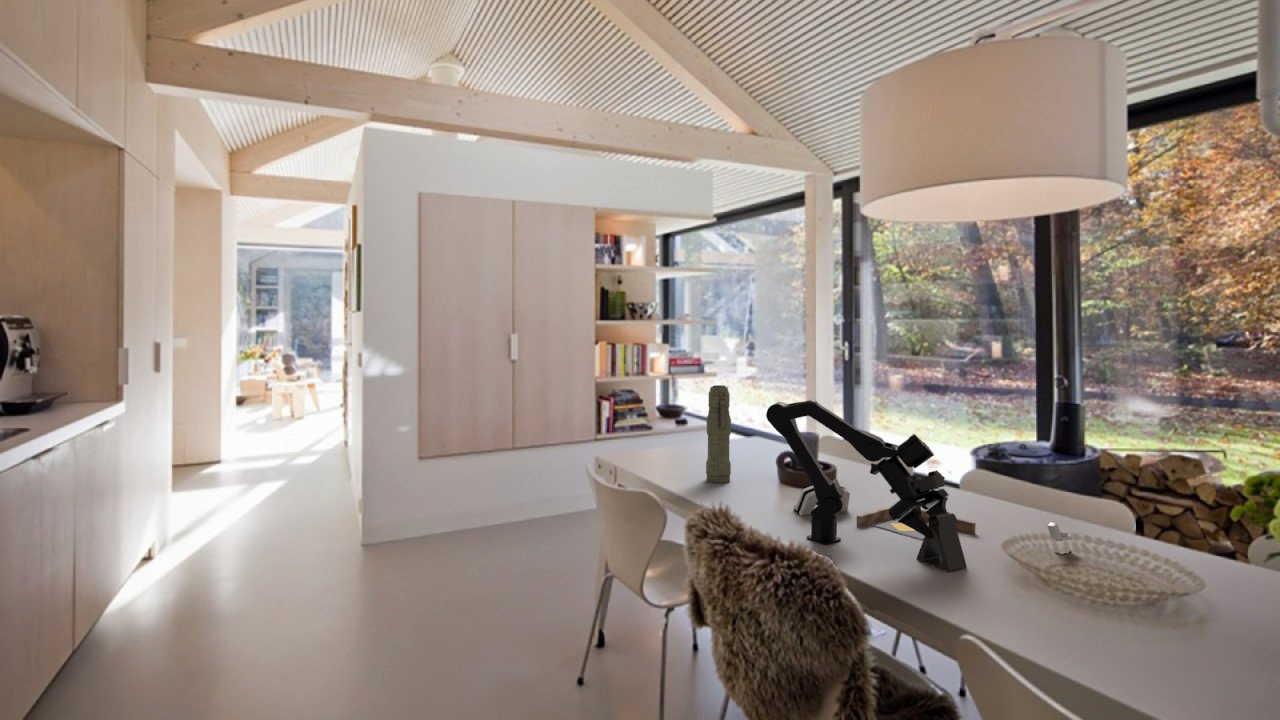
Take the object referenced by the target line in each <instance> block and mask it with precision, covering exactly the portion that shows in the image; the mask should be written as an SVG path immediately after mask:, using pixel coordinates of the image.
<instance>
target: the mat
mask: <svg viewBox="0 0 1280 720" xmlns="http://www.w3.org/2000/svg"><path fill="white" fill-rule="evenodd" d="M900 519H901V518H900ZM898 520H899V519H898ZM898 520H895V521H893V520H889V521H884V522H882V523H877V524H875V525H874V527H875V528H879V529H882V530H884V531H885V530H886V531H889V532H893V533H895V534H898V535H903V536H905V535H906V537H909V536H910V537H909V538H912V537H913V539H917V540H919V541H923V540H924V537H925V536H924V535H922V534H921V533H919V532H917V531H915V530H914V529H912V528H910V527H908V526H906V525H904V524H902V523H899V522H898ZM926 524H927V525H929V523H928V522H926Z"/></svg>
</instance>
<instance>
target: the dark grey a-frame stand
mask: <svg viewBox="0 0 1280 720" xmlns="http://www.w3.org/2000/svg"><path fill="white" fill-rule="evenodd" d="M956 518H957V517H956V515H955V514H954V513H953V512H950V511H947V513H941V514H936V515H931V516H930V517H929V519H928V522H927V524H929V525H928V527H929V528H930V530H931V531H932V533H933V535H934V538H933V539H929V538H927V537H926V536H925V537H924V540H922V543H921V545H920V548H919V551H918V553H917V556H916V560H917V561H918V560H919V561H918V562H921V561H922V562H921V563H923V562H924V564H926V563H927V564H926V565H929V566H931V565H933V568H937V569H939V570H942V571H944V572H946V573H952V572H956V571H960V570H964V569H967V567H968V566H967V563H966V562H967V561H966V558H965V555H964V552H963V548H962V544H961V540H960V537H959V536H960V535H959V532H958V530H957V529H956Z"/></svg>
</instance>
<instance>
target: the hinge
mask: <svg viewBox="0 0 1280 720" xmlns="http://www.w3.org/2000/svg"><path fill="white" fill-rule="evenodd" d="M839 485H840V487H841V488H842V489H843V490H844V491H845V492H844V497H845V501H844V504H843V507H842V509H841V511H840V512H846V511H845V510H848V509H849V504H850V496H851V493H850V491H849V490H848V489H847V488H845V486H843V485H841V484H839ZM817 502H818V500H817V498H816V495H815V491H814V487H813V485H810V486H808V487H806V488H803V489H802V490H801V492H800V495H799V498H798V500H797V503H796V505H794V506H793V509H792V511H793V512H799V513H798V514H799V515H800V514H801V515H800V516H806V515H805V514H810V515H811V511H812V509H813V507H814V505H815V503H817ZM795 510H796V511H795ZM848 511H849V510H848Z"/></svg>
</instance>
